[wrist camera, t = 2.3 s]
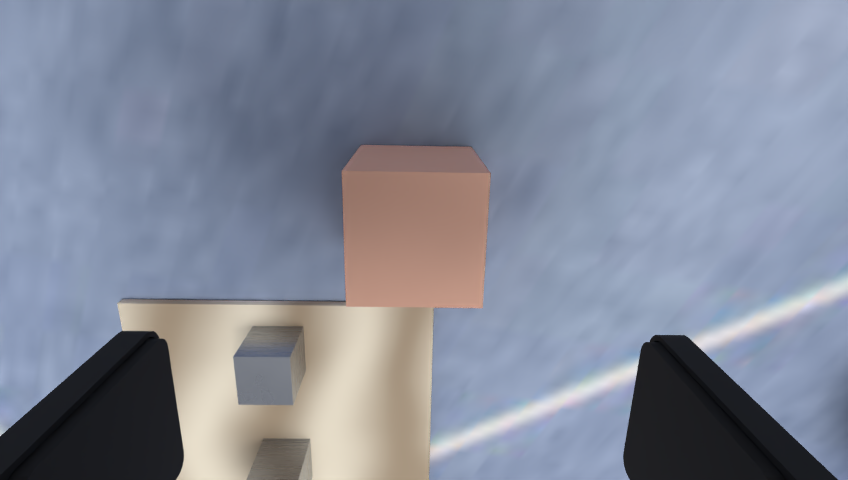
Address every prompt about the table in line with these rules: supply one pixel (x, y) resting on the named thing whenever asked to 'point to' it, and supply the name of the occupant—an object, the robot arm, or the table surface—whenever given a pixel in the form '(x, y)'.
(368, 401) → the board
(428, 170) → the salmon pink toy brick
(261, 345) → the silver gray cube
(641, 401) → the robot arm
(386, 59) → the table surface
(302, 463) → the post
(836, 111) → the table surface
